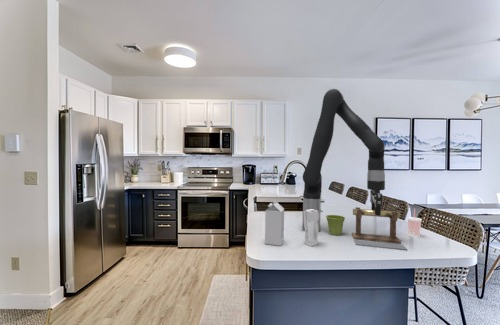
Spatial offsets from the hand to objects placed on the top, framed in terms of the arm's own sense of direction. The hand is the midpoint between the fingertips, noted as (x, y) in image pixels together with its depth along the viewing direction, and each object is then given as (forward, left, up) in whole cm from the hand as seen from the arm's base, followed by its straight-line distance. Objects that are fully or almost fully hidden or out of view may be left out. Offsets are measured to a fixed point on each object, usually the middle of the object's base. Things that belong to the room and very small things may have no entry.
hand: (375, 213), depth 114 cm
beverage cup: (+20, +12, -13) cm, 26 cm away
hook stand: (0, 0, -12) cm, 12 cm away
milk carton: (-45, -21, -13) cm, 51 cm away
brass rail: (0, 0, 0) cm, 0 cm away
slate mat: (0, -9, -12) cm, 15 cm away
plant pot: (-18, +3, -13) cm, 22 cm away
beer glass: (-29, -17, -13) cm, 36 cm away
